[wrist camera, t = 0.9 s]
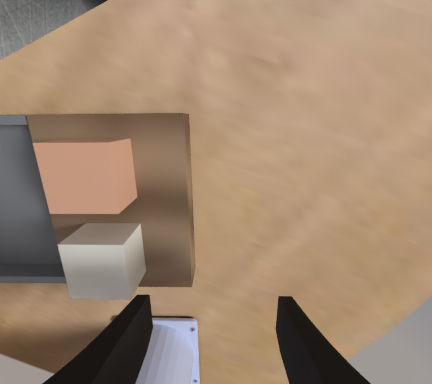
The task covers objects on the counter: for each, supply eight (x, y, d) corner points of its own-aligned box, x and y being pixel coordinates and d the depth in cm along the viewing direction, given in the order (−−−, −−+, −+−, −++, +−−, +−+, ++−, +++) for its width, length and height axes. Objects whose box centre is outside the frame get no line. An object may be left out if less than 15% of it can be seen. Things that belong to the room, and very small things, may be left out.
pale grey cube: (146, 270, 18) (131, 299, 15) (95, 269, 18) (70, 298, 15) (140, 223, 16) (123, 245, 13) (86, 223, 16) (57, 244, 14)
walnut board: (195, 267, 20) (191, 287, 18) (85, 266, 21) (67, 285, 18) (188, 114, 16) (183, 113, 14) (54, 115, 17) (26, 114, 14)
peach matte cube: (137, 197, 16) (118, 213, 13) (81, 197, 16) (49, 213, 13) (130, 138, 15) (107, 142, 12) (69, 138, 15) (32, 142, 12)
